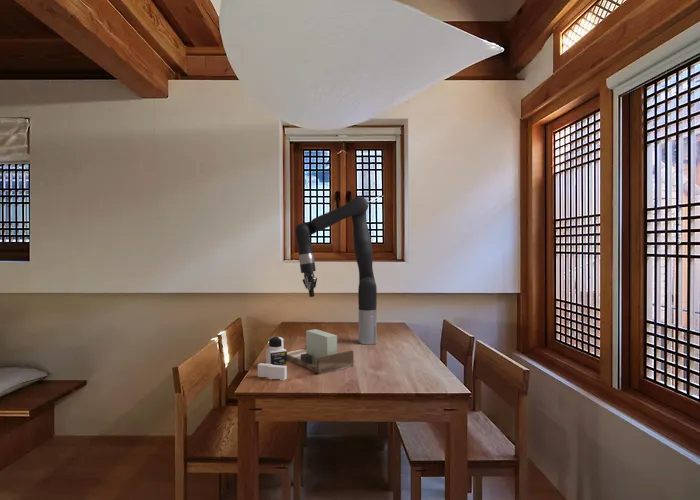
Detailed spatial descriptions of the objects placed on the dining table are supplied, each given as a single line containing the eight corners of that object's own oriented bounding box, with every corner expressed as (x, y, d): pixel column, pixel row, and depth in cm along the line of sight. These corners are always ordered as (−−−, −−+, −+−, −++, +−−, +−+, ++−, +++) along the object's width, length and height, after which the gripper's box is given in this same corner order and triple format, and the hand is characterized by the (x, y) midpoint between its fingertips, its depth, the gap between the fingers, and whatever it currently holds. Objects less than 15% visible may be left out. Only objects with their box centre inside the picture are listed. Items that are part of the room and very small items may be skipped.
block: (306, 360, 185) (306, 330, 185) (315, 358, 188) (315, 329, 188) (327, 368, 173) (327, 337, 172) (337, 366, 176) (337, 335, 175)
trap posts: (300, 363, 180) (300, 354, 180) (329, 357, 189) (329, 348, 189) (305, 366, 177) (305, 356, 177) (334, 359, 186) (334, 350, 186)
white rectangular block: (294, 380, 162) (294, 365, 161) (268, 387, 154) (268, 371, 154) (275, 371, 173) (275, 357, 173) (249, 376, 166) (249, 362, 166)
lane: (275, 355, 195) (275, 341, 195) (307, 349, 206) (307, 336, 205) (318, 374, 167) (318, 358, 167) (353, 366, 178) (353, 351, 177)
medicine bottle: (270, 369, 174) (270, 340, 173) (265, 365, 180) (265, 336, 180) (287, 367, 177) (287, 338, 177) (281, 362, 183) (281, 335, 183)
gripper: (319, 260, 211) (324, 295, 210) (308, 263, 222) (313, 295, 222) (305, 262, 207) (311, 297, 207) (295, 264, 219) (300, 298, 218)
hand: (312, 296), depth 214 cm, fingers closed
